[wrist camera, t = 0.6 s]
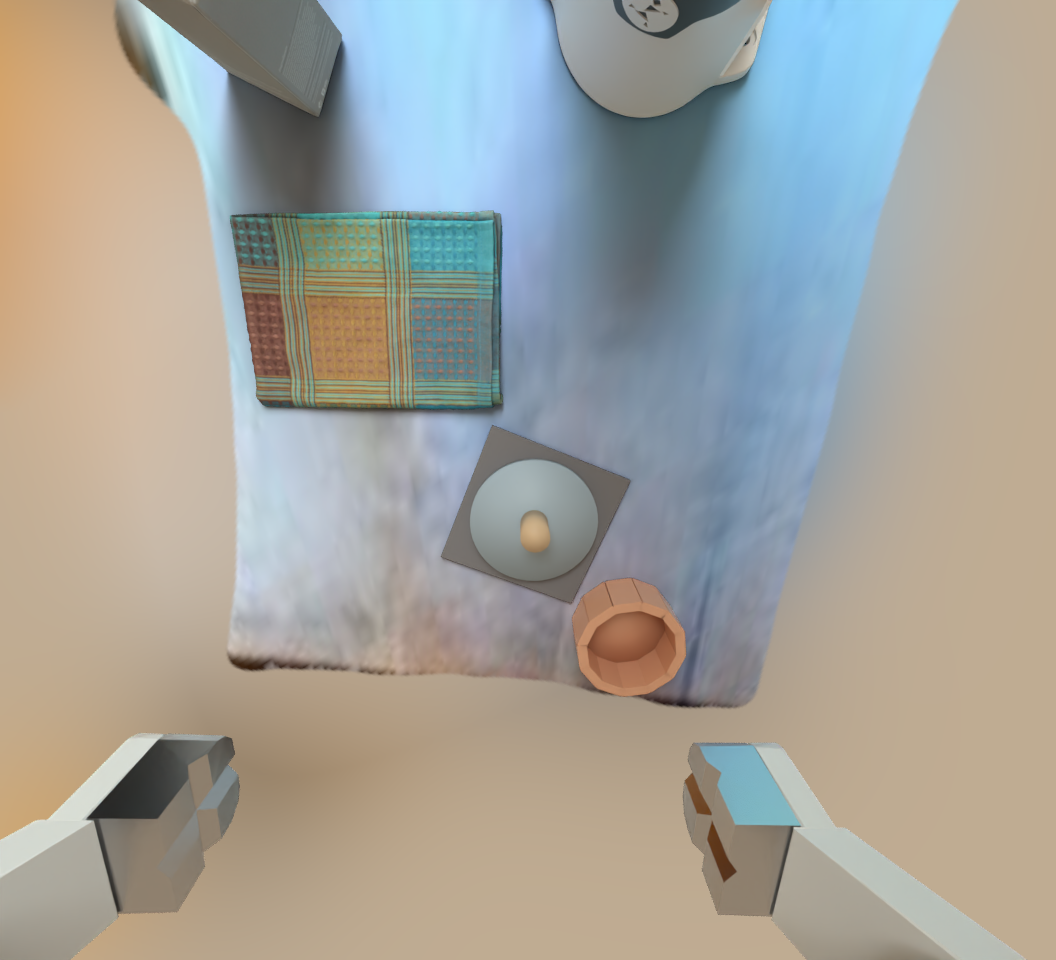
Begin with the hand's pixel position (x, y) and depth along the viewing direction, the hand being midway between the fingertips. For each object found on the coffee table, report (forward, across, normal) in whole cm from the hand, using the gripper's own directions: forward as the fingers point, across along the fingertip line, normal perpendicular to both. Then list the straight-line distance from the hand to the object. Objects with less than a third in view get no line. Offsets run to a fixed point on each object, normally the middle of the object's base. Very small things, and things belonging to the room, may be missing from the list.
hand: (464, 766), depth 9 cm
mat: (+41, -3, +10) cm, 42 cm away
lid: (+40, -3, +10) cm, 42 cm away
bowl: (+41, -13, +22) cm, 49 cm away
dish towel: (+42, +12, -9) cm, 44 cm away
